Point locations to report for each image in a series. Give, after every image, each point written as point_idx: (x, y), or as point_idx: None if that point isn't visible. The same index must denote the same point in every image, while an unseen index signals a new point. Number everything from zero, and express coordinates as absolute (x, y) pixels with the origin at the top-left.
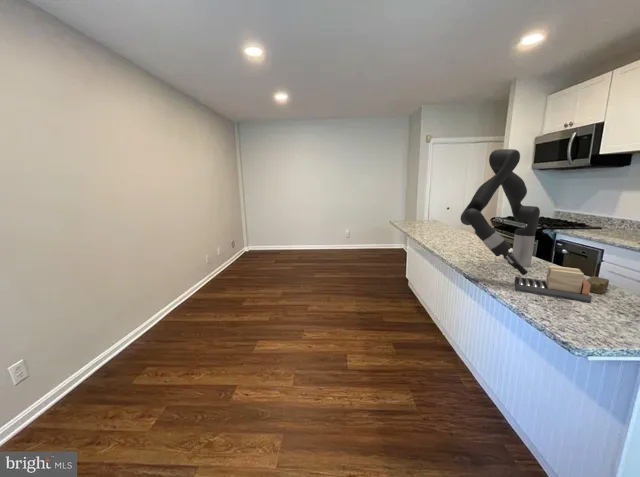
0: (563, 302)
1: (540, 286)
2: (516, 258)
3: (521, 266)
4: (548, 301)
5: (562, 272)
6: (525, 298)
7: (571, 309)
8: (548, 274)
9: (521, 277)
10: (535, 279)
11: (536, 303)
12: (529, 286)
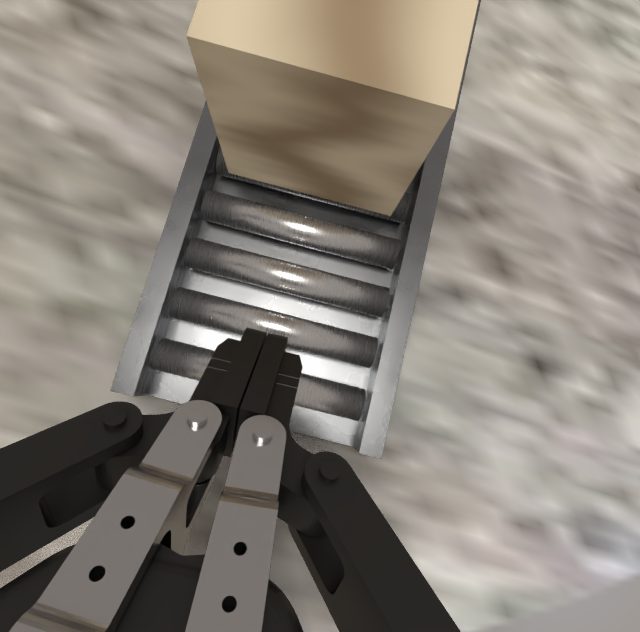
0: (510, 196)
1: (317, 246)
2: (159, 525)
3: (263, 416)
4: (528, 284)
5: (470, 16)
6: (526, 426)
7: (618, 202)
8: (300, 132)
9: (130, 338)
10: (167, 228)
11: (599, 381)
12: (402, 357)
